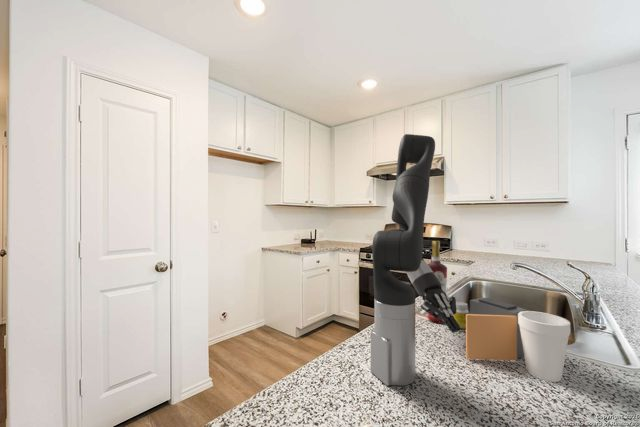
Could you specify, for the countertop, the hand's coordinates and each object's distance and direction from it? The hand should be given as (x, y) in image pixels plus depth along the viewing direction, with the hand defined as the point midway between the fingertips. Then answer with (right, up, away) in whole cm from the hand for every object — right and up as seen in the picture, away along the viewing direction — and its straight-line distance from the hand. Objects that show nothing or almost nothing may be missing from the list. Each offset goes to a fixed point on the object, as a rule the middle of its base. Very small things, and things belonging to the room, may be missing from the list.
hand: (456, 331), depth 76 cm
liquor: (+3, -5, +21) cm, 22 cm away
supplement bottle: (+8, -5, +13) cm, 16 cm away
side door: (+6, -4, -6) cm, 9 cm away
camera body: (+12, -5, +1) cm, 13 cm away
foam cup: (+14, -5, -12) cm, 19 cm away
